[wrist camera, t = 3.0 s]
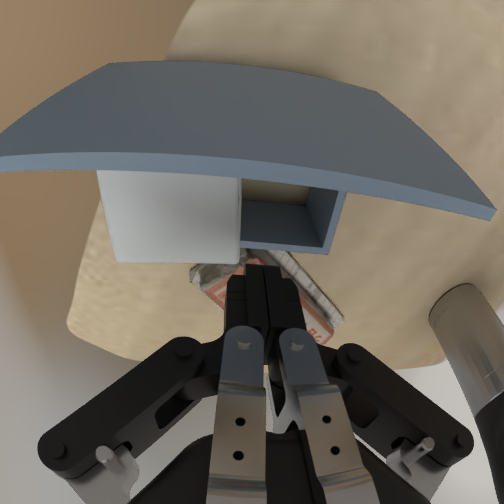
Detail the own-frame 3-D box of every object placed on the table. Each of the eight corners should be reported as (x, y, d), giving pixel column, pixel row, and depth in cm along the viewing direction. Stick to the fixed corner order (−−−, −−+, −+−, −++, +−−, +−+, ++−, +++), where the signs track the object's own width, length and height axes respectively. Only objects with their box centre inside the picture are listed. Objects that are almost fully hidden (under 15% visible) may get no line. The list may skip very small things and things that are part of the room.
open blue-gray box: (337, 88, 23) (369, 99, 17) (310, 212, 29) (328, 254, 24) (144, 68, 21) (113, 73, 15) (142, 197, 28) (118, 237, 22)
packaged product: (180, 300, 29) (263, 244, 26) (186, 269, 33) (260, 217, 30) (284, 376, 38) (353, 343, 34) (280, 348, 42) (344, 314, 38)
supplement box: (153, 100, 23) (88, 137, 12) (242, 98, 23) (246, 130, 13) (158, 180, 27) (112, 265, 16) (240, 180, 27) (241, 267, 17)
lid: (373, 99, 17) (376, 91, 16) (489, 222, 8) (496, 209, 8) (109, 71, 15) (109, 63, 15) (-26, 175, 6) (-30, 159, 6)
